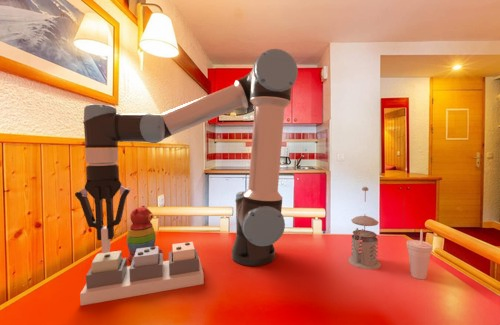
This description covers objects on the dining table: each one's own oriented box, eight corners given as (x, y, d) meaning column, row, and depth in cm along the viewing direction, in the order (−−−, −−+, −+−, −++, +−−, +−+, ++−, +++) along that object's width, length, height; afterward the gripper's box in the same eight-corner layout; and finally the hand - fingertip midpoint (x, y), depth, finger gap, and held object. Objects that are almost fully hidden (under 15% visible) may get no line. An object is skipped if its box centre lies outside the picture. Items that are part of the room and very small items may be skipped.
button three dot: (158, 259, 76) (158, 244, 76) (158, 267, 71) (157, 252, 70) (137, 262, 74) (136, 247, 74) (134, 271, 69) (133, 255, 69)
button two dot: (192, 254, 79) (192, 240, 79) (194, 262, 74) (194, 247, 73) (172, 257, 78) (172, 243, 77) (173, 265, 72) (172, 250, 72)
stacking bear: (146, 264, 84) (144, 211, 83) (120, 262, 86) (117, 210, 85) (164, 251, 95) (162, 204, 94) (139, 249, 97) (137, 203, 96)
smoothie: (423, 284, 70) (425, 234, 69) (400, 274, 76) (401, 227, 75) (436, 278, 73) (438, 230, 72) (413, 268, 79) (414, 224, 78)
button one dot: (122, 264, 73) (121, 249, 73) (118, 273, 68) (117, 258, 67) (98, 267, 71) (97, 252, 71) (92, 277, 66) (91, 261, 65)
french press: (384, 261, 84) (386, 186, 82) (373, 274, 75) (374, 191, 74) (354, 253, 91) (355, 183, 89) (341, 264, 82) (341, 187, 81)
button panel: (198, 265, 83) (198, 245, 83) (203, 283, 72) (203, 261, 71) (94, 281, 74) (93, 259, 74) (80, 305, 63) (79, 279, 62)
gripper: (131, 162, 73) (134, 243, 75) (79, 164, 69) (83, 248, 71) (127, 164, 66) (130, 253, 68) (68, 165, 62) (73, 260, 64)
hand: (106, 250), depth 69 cm, fingers closed
